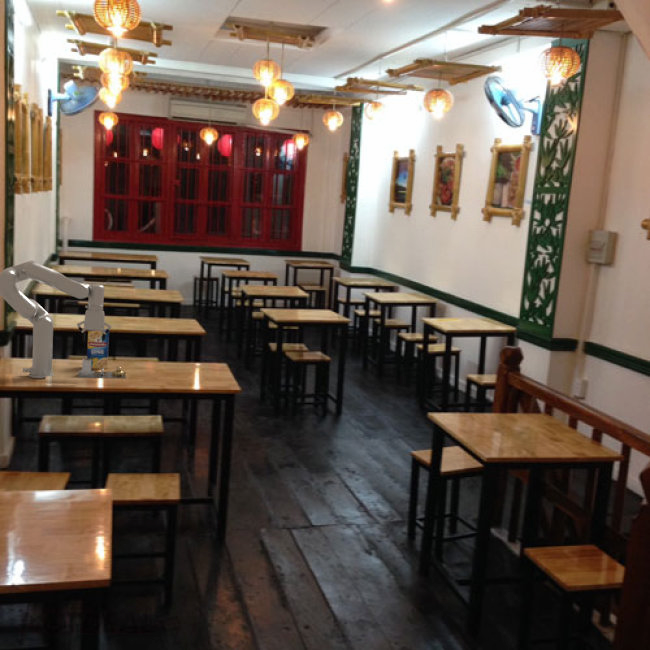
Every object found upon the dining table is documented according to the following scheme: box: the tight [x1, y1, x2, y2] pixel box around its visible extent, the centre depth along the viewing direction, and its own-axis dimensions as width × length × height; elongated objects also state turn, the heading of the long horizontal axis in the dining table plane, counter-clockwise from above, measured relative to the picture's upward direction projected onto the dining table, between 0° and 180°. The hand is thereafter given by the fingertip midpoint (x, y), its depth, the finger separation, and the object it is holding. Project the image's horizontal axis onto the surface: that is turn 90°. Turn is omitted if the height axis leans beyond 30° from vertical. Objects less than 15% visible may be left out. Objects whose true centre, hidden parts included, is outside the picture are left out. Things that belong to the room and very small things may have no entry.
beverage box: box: [86, 328, 110, 370], centre depth 426 cm, size 7×11×22 cm, turn 104°
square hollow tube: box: [77, 358, 96, 376], centre depth 405 cm, size 8×8×8 cm
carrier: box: [77, 366, 127, 380], centre depth 408 cm, size 24×16×6 cm, turn 108°
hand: (93, 340), depth 404 cm, fingers open, 9 cm apart
